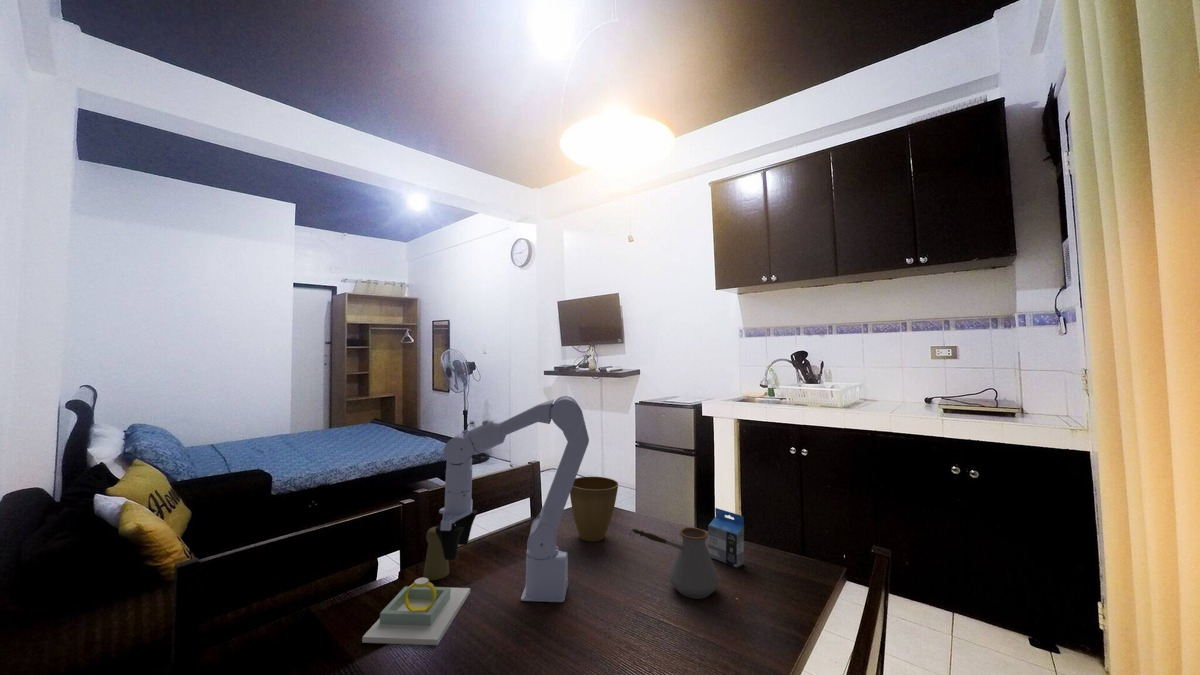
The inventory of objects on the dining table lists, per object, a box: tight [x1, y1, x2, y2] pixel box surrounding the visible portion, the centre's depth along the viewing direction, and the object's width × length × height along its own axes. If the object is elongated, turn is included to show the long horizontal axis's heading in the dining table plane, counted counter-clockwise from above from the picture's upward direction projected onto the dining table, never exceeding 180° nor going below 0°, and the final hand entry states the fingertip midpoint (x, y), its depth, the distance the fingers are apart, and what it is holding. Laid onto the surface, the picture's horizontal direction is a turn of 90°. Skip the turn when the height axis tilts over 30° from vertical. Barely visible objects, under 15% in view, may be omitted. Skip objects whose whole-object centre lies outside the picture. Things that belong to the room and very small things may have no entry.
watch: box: [404, 577, 436, 612], centre depth 88 cm, size 6×3×6 cm, turn 98°
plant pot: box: [569, 476, 619, 543], centre depth 129 cm, size 15×15×16 cm
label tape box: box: [707, 507, 745, 568], centre depth 115 cm, size 9×4×12 cm, turn 42°
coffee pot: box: [629, 526, 720, 600], centre depth 99 cm, size 21×12×15 cm, turn 105°
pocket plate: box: [361, 585, 471, 646], centre depth 88 cm, size 14×18×3 cm
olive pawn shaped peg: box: [422, 525, 450, 581], centre depth 106 cm, size 6×6×11 cm
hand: (456, 551), depth 97 cm, fingers open, 7 cm apart
